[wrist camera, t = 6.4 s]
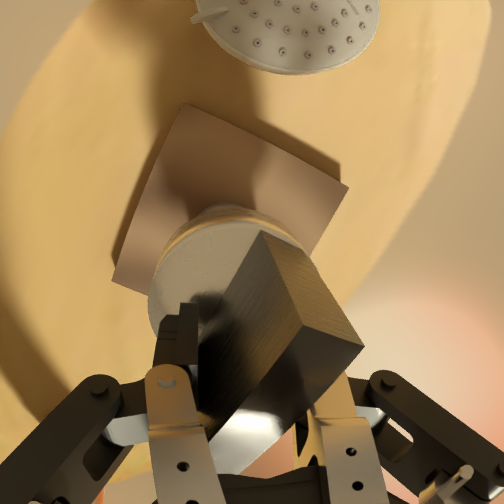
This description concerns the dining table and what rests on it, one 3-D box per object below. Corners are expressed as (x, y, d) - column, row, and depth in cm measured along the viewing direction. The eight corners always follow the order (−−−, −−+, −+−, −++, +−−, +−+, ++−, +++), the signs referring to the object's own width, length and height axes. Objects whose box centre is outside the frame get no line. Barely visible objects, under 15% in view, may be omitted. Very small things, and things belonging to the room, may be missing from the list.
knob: (334, 248, 15) (428, 363, 8) (250, 370, 17) (275, 497, 10) (195, 179, 13) (177, 270, 5) (130, 328, 15) (96, 465, 8)
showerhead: (149, -49, 8) (333, -94, 8) (166, -1, 15) (299, -46, 14) (239, 108, 12) (418, 43, 12) (229, 112, 19) (358, 59, 18)
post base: (257, 324, 26) (273, 391, 19) (116, 271, 22) (86, 332, 15) (340, 183, 22) (395, 214, 15) (185, 103, 18) (171, 95, 12)
